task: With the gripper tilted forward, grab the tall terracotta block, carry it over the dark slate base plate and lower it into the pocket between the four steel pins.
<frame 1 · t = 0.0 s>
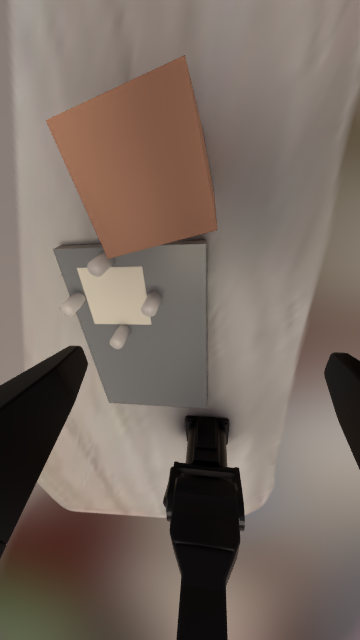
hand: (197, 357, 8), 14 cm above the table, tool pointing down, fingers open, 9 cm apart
base plate: (147, 337, 27), on the table
terracotta block: (180, 174, 18), on the table
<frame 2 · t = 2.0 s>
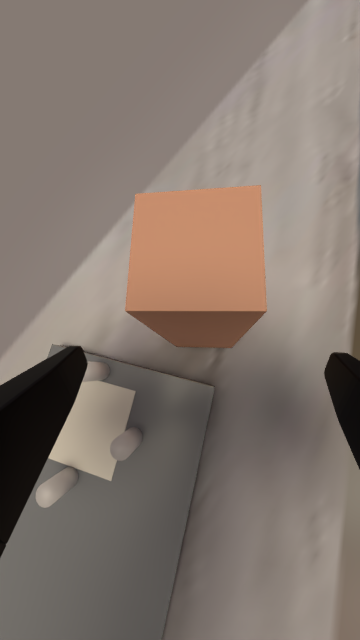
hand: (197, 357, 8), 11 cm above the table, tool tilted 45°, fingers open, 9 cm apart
base plate: (93, 507, 17), on the table
terracotta block: (203, 320, 19), on the table
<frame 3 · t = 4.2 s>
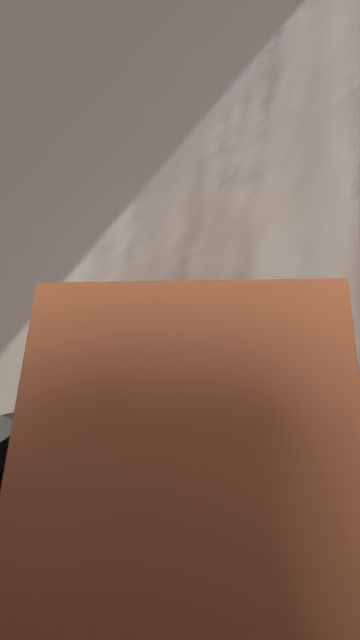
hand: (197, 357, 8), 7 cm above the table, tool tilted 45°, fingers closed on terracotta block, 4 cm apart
terracotta block: (202, 384, 14), on the table, touching gripper
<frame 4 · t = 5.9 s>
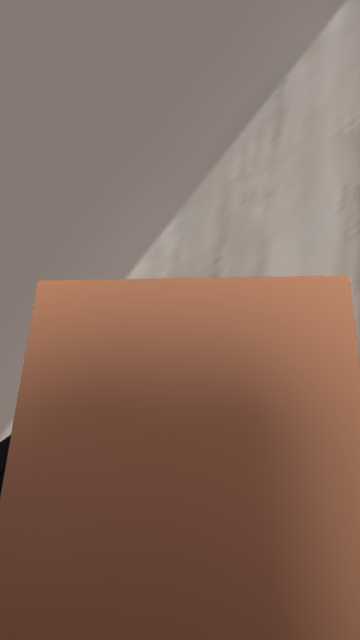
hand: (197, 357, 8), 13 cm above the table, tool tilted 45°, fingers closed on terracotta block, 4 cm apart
terracotta block: (203, 383, 14), point 6 cm above the table, touching gripper
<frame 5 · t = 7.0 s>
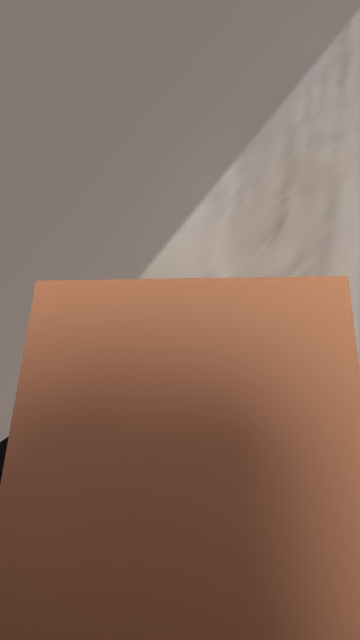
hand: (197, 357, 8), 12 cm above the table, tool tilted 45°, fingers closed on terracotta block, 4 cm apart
terracotta block: (202, 384, 14), point 5 cm above the table, touching gripper
when the fingers open (9 cm above the table, at t = 7.9 s): terracotta block drops 1 cm, resting on base plate.
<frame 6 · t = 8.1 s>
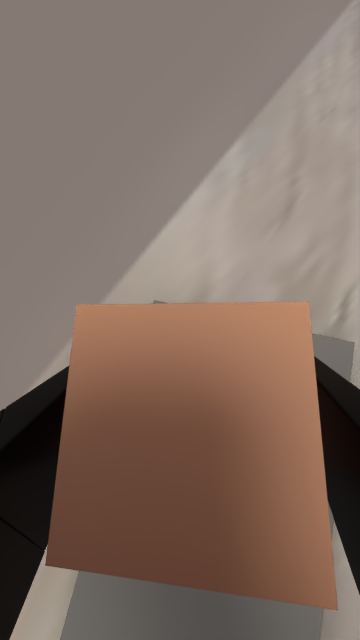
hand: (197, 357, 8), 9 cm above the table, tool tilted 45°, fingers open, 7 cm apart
base plate: (213, 477, 15), on the table
terracotta block: (203, 383, 16), point 1 cm above the table, touching base plate
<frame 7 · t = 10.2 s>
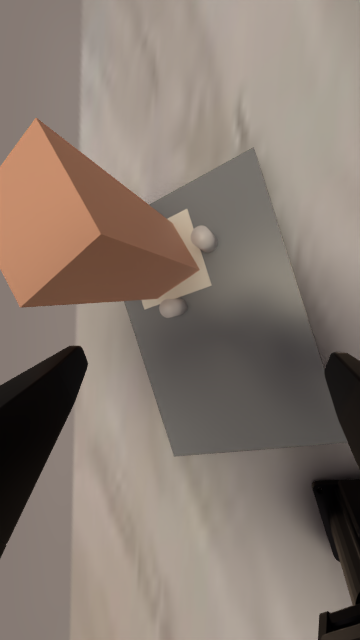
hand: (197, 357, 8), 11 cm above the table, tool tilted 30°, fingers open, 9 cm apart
base plate: (211, 321, 20), on the table
terracotta block: (164, 262, 19), point 1 cm above the table, touching base plate
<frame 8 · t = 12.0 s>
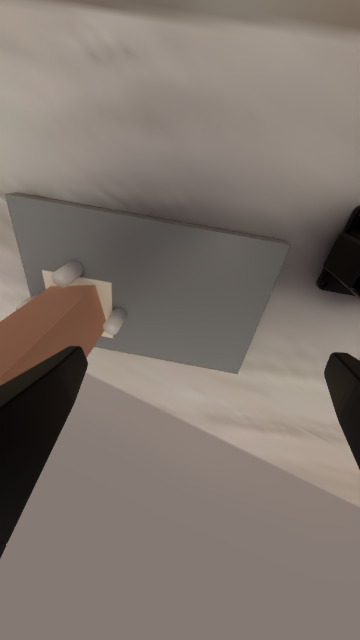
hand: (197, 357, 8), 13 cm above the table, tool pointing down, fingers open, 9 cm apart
base plate: (144, 293, 22), on the table
terracotta block: (80, 306, 22), point 1 cm above the table, touching base plate
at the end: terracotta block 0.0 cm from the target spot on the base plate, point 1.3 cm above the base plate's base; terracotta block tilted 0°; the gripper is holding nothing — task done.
